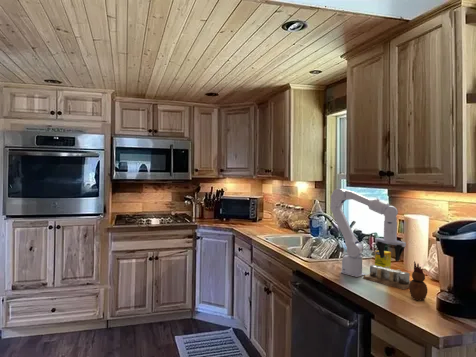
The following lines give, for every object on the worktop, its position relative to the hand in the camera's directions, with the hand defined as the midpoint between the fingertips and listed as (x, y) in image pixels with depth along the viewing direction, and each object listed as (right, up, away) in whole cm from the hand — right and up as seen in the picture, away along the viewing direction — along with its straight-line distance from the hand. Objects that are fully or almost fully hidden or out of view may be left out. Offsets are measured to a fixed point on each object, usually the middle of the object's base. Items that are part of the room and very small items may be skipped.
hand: (389, 259), depth 168 cm
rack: (-2, -10, -3) cm, 10 cm away
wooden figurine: (0, -10, -26) cm, 28 cm away
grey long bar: (-2, -9, -3) cm, 9 cm away
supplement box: (+2, -10, +13) cm, 17 cm away
